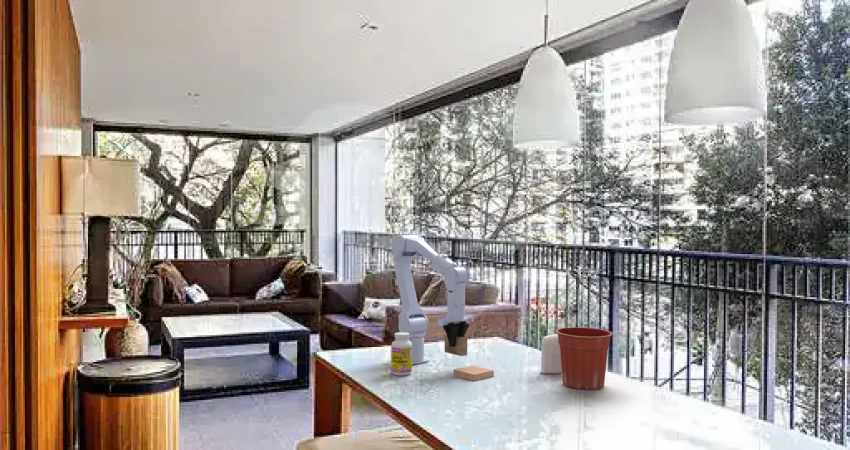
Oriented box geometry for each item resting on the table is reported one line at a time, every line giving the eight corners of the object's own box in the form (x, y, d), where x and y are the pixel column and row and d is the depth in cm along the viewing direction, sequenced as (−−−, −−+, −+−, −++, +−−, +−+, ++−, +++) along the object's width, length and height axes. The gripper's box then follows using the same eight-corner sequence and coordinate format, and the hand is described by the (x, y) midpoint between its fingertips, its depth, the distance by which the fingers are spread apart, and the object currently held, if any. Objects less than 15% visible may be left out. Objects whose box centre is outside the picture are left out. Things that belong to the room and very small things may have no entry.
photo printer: (569, 370, 215) (569, 333, 215) (574, 373, 211) (574, 335, 210) (539, 371, 213) (539, 333, 213) (543, 374, 209) (543, 335, 209)
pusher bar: (444, 352, 215) (444, 335, 215) (449, 351, 216) (449, 334, 216) (461, 356, 209) (462, 338, 209) (467, 355, 210) (467, 337, 210)
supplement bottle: (388, 375, 206) (388, 334, 206) (394, 370, 213) (394, 331, 213) (408, 376, 205) (409, 335, 205) (414, 371, 211) (414, 332, 211)
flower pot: (614, 393, 186) (614, 337, 186) (555, 390, 190) (555, 335, 190) (609, 380, 203) (610, 328, 202) (555, 377, 206) (556, 326, 206)
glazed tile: (453, 369, 207) (474, 374, 200) (473, 365, 213) (493, 370, 206) (453, 376, 207) (474, 382, 200) (472, 372, 213) (493, 377, 206)
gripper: (448, 307, 205) (448, 350, 205) (480, 303, 214) (479, 344, 214) (433, 304, 210) (432, 347, 210) (465, 301, 220) (464, 341, 220)
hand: (455, 345), depth 213 cm, fingers closed on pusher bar, 2 cm apart
